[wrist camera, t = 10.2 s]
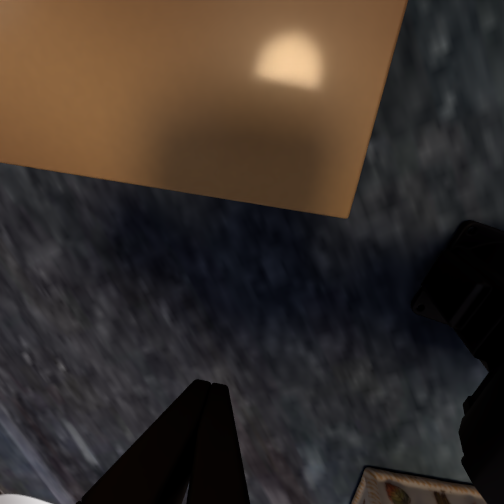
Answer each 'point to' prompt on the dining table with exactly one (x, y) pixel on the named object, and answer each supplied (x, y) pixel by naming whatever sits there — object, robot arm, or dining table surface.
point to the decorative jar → (411, 490)
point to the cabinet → (199, 94)
